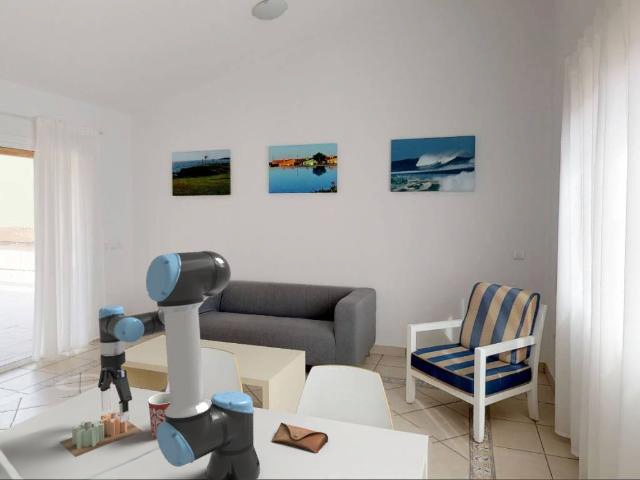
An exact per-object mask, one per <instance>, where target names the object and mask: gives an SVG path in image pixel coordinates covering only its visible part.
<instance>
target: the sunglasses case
mask: <svg viewBox="0 0 640 480" xmlns="http://www.w3.org/2000/svg"><path fill="white" fill-rule="evenodd" d="M270 442H271V443H275V444H280V445H284V446H285V445H286V446H289V447H292V448H297V449H300V450H304V451H307V452H312V453H314V454H318V453H319V452H320V450H322V449H323V447H324V446H325V445H326V444H327V443H329V436H328V434H327V433H325V432H321V431H315V430H312V429H308V428H304V427H301V426H300V427H299V426H296V425H291V424H287V423H284V422H280V424H279V426H278V428H277V430H276V432H275V434H274V436H273V438H272V439H271V440H270Z"/></svg>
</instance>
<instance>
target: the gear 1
mask: <svg viewBox="0 0 640 480" xmlns="http://www.w3.org/2000/svg"><path fill="white" fill-rule="evenodd" d="M99 421H100V419H95V420H94V421H92V420H91V421H90V420H89V422H91V423H92V427H91V428H89V429H85V426H84V424H85V423H86V422H87V421H81V422H80V424H78V426H76V427H75V426H74V427H72V429H71V436H72V437H71V438H72V444H77V449H80V448H82V447H83V446H85V447H87V446H90V445H91V446H92V447H94V446H96V443H98V441H99V440H104V423H103V424H99Z"/></svg>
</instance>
